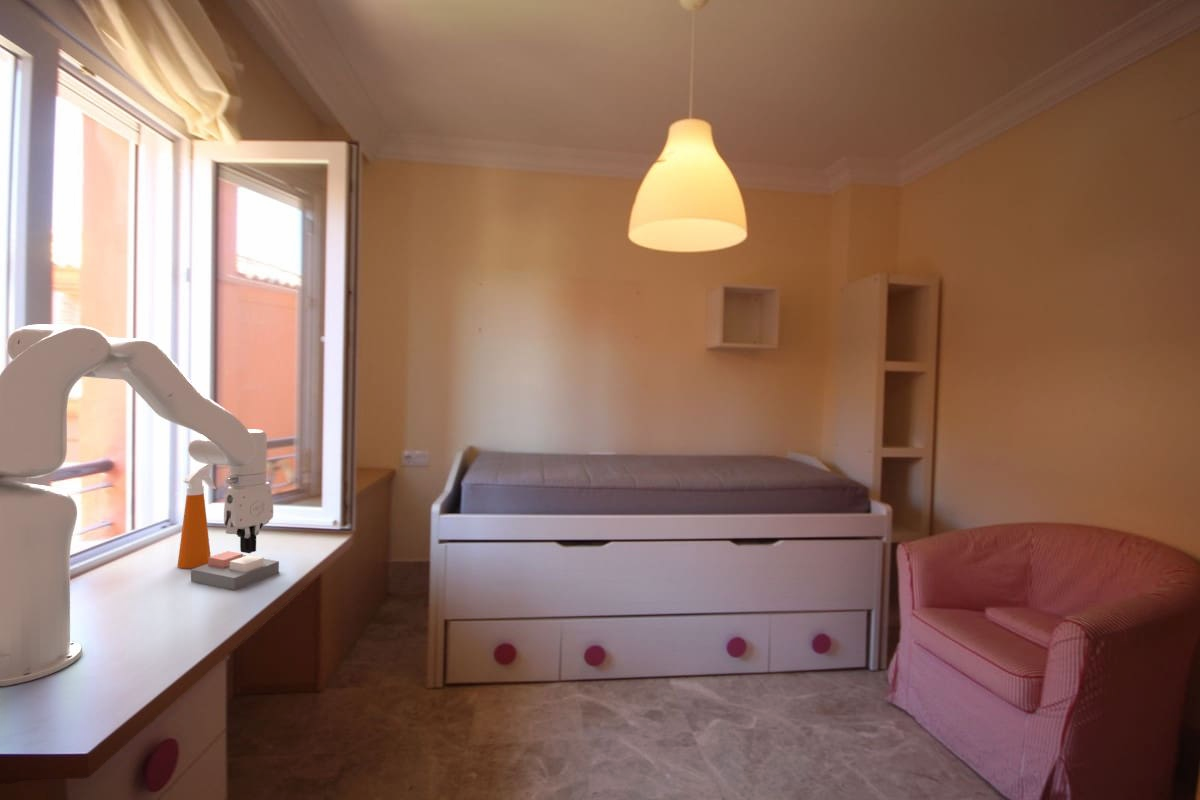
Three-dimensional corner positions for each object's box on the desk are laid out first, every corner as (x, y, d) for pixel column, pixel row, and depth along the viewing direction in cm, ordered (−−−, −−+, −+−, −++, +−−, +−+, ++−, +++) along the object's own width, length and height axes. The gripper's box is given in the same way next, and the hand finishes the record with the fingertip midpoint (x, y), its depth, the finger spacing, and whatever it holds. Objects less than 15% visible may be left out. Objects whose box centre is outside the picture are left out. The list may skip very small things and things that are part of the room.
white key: (245, 573, 125) (245, 564, 125) (229, 570, 127) (229, 561, 127) (263, 566, 130) (263, 557, 130) (248, 564, 132) (248, 554, 131)
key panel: (234, 590, 122) (234, 578, 122) (190, 581, 126) (191, 569, 126) (278, 572, 133) (278, 561, 133) (237, 564, 137) (237, 553, 137)
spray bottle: (227, 555, 144) (228, 462, 143) (198, 569, 133) (199, 469, 132) (201, 554, 144) (202, 461, 143) (170, 568, 133) (171, 468, 132)
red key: (223, 569, 127) (223, 560, 127) (208, 566, 129) (208, 557, 129) (242, 562, 132) (242, 553, 132) (227, 560, 134) (228, 551, 133)
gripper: (230, 487, 119) (230, 564, 120) (286, 475, 134) (285, 544, 135) (206, 483, 121) (206, 559, 122) (264, 472, 136) (263, 540, 137)
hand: (248, 551), depth 129 cm, fingers closed
